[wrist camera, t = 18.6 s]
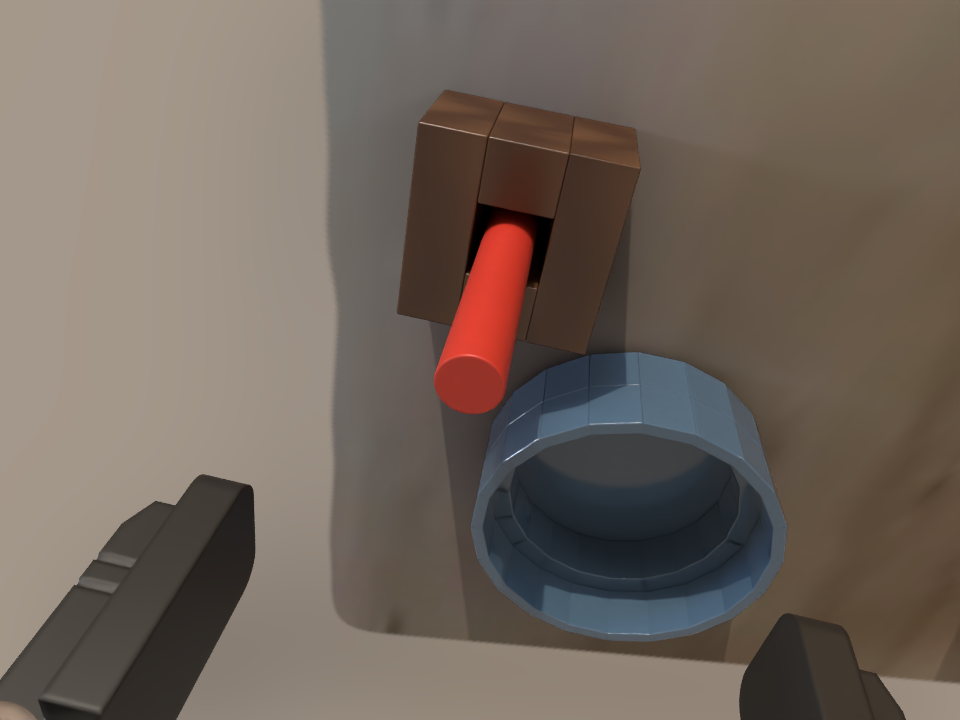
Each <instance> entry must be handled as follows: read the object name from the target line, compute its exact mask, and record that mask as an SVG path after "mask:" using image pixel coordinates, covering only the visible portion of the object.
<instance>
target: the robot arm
mask: <svg viewBox="0 0 960 720" xmlns="http://www.w3.org/2000/svg"><path fill="white" fill-rule="evenodd" d="M254 558H255V522H254V493H253V488H252V487H251V486H250V485H247V484H243V483H238V482H234V481H230V480H226V479H221V478H217V477H213V476H209V475H204V474H203V475H199V476H198V477H197V478H196V479H195V480H194V481H193V482H192V483H191V485H190V486H189V487H188V489H187V490H186V492H185V493H184V494H183V496H182V497H181V499H180V500H179V501H178V503H177V504H176V505H171V504H166V503H162V502H158V501H155V502H153V503H152V504H151V505H149V506H147V507H146V508H144V509H143V510H141V511H140V512H138V513H137V514H136V515H134V516H133V517H131V518H130V519H128V520H127V521H125V522H124V523H123V524H121V526H120V527H119V528H118V529H117V531H116V532H115V533H114V535H113V536H112V537H111V538H110V540H109V541H108V542H107V544H106V545H105V546H104V547H103V549H102V550H101V551H100V552H99V556H98V558H97V560H93V561H92V563H91V564H90V565H89V567H88V568H87V569H86V570H85V572H84V573H83V574H82V576H81V577H80V578H79V583H78V584H77V585H74V586H73V587H72V588H71V590H70V591H69V592H68V594H67V595H66V596H65V597H64V599H63V600H62V601H61V603H60V604H59V605H58V607H57V608H56V609H55V610H54V612H53V613H52V614H51V615H50V617H49V618H48V619H47V621H46V622H45V623H44V624H43V626H42V627H41V628H40V630H39V631H38V632H37V633H36V635H35V636H34V637H33V638H32V640H31V641H30V642H29V644H28V645H27V646H26V647H25V649H24V650H23V651H22V653H21V654H20V655H19V656H18V658H17V659H16V660H15V662H14V663H13V664H12V665H11V667H10V668H9V669H8V671H7V672H6V673H5V674H4V676H3V677H2V678H1V680H0V720H176V719H177V717H178V715H179V713H180V711H181V710H182V708H183V706H184V704H185V702H186V700H187V698H188V696H189V694H190V692H191V691H192V689H193V687H194V685H195V683H196V681H197V679H198V677H199V675H200V673H201V672H202V670H203V668H204V666H205V664H206V662H207V660H208V658H209V657H210V655H211V653H212V651H213V649H214V647H215V645H216V643H217V642H218V640H219V638H220V636H221V634H222V632H223V630H224V628H225V626H226V625H227V623H228V621H229V619H230V617H231V615H232V613H233V611H234V609H235V608H236V606H237V604H238V602H239V600H240V598H241V596H242V594H243V592H244V590H245V588H246V586H247V583H248V581H249V578H250V575H251V572H252V568H253V564H254ZM739 707H740V717H741V720H906V719H905V716H904V713H903V711H902V710H901V709H900V707H899V706H898V704H897V703H896V701H895V700H894V699H893V697H892V696H891V694H890V693H889V691H888V690H887V689H886V687H885V686H884V684H883V683H882V681H881V680H880V678H879V677H878V676H877V674H876V673H872V672H868V671H863V670H859V667H858V663H857V660H856V657H855V654H854V651H853V647H852V644H851V641H850V638H849V636H848V634H847V632H846V631H845V629H844V628H843V627H841V626H840V625H836V624H832V623H828V622H824V621H819V620H815V619H811V618H807V617H802V616H798V615H794V614H789V613H786V614H784V615H782V616H781V617H780V618H779V620H778V621H777V623H776V624H775V626H774V627H773V629H772V630H771V632H770V634H769V635H768V637H767V638H766V640H765V641H764V643H763V644H762V646H761V647H760V649H759V650H758V652H757V654H756V655H755V657H754V658H753V660H752V661H751V663H750V664H749V666H748V668H747V669H746V671H745V673H744V676H743V680H742V684H741V689H740V698H739Z"/></svg>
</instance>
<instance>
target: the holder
mask: <svg viewBox="0 0 960 720" xmlns="http://www.w3.org/2000/svg"><path fill="white" fill-rule="evenodd" d="M640 170H641V167H640V160H639V152H638V145H637V138H636V130H635V129H633V128H629V127H624V126H619V125H614V124H609V123H605V122H600V121H595V120H590V119H585V118H580V117H575V118H574V117H573V116H570V115H565V114H560V113H555V112H550V111H546V110H541V109H536V108H531V107H526V106H522V105H517V104H512V103H507V102H506V103H504V102H503V101H498V100H493V99H488V98H483V97H478V96H474V95H469V94H464V93H459V92H454V91H449V90H444V91H443V93H442V94H441V95H440V96H439V98H438V99H437V100H436V101H435V103H434V104H433V105H432V106H431V108H430V109H429V110H428V111H427V112H426V114H425V115H424V116H423V117H422V119H421V120H420V121H419V123H418V129H417V138H416V147H415V156H414V165H413V174H412V182H411V191H410V200H409V209H408V218H407V227H406V236H405V245H404V254H403V263H402V272H401V280H400V289H399V298H398V307H397V314H400V315H405V316H410V317H414V318H419V319H423V320H428V321H433V322H437V323H442V324H446V325H451V326H452V323H453V321H454V318H455V315H456V312H457V309H458V306H459V303H460V301H461V298H462V295H463V292H464V289H465V286H466V284H467V281H468V278H469V275H470V272H471V269H472V267H473V264H474V261H475V258H476V255H477V252H478V250H479V247H480V244H481V241H482V238H483V235H484V232H485V230H486V227H487V226H486V225H483V220H484V215H485V209H486V205H490V206H494V207H499V208H504V209H508V210H513V211H518V212H523V213H527V214H532V215H537V216H542V217H546V218H551V221H550V225H549V229H548V233H547V238H543V237H538V236H536V239H535V244H534V249H533V255H532V260H531V265H530V270H529V275H528V280H527V285H526V290H525V295H524V300H523V305H522V310H521V315H520V320H519V325H518V331H517V336H516V340H520V341H525V340H526V342H528V343H533V344H537V345H542V346H547V347H551V348H556V349H560V350H565V351H570V352H574V353H579V354H583V355H585V354H586V351H587V348H588V345H589V341H590V338H591V335H592V331H593V328H594V325H595V321H596V318H597V314H598V311H599V308H600V304H601V301H602V298H603V294H604V291H605V288H606V284H607V281H608V278H609V274H610V271H611V267H612V264H613V261H614V257H615V254H616V251H617V247H618V244H619V241H620V237H621V234H622V231H623V227H624V224H625V220H626V217H627V214H628V210H629V207H630V204H631V200H632V197H633V194H634V190H635V187H636V184H637V180H638V177H639V173H640Z"/></svg>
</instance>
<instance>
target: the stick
mask: <svg viewBox="0 0 960 720" xmlns="http://www.w3.org/2000/svg"><path fill="white" fill-rule="evenodd" d="M539 219H540V216H537V215H532V214H527V213H523V212H518V211H513V210H508V209H504V208H499V207H493V210H492V213H491V215H490V218H489V221H488V224H487V227H486V230H485V232H484V235H483V238H482V241H481V244H480V247H479V250H478V252H477V255H476V258H475V261H474V264H473V267H472V269H471V272H470V275H469V278H468V281H467V284H466V286H465V289H464V292H463V295H462V298H461V301H460V303H459V306H458V309H457V312H456V315H455V318H454V321H453V323H452V326H451V329H450V332H449V335H448V338H447V340H446V343H445V346H444V349H443V352H442V355H441V357H440V360H439V363H438V366H437V369H436V372H435V375H434V386H435V389H436V392H437V394H438V396H439V397H440V399H441V400H442V401H443V402H444V403H445V404H446V405H447V406H449V407H450V408H452V409H454V410H456V411H459V412H462V413H466V414H481V413H485V412H488V411H490V410H492V409H493V408H495V407H496V406H497V405H498V404H499V403H500V402H501V401H502V399H503V397H504V395H505V391H506V386H507V381H508V376H509V371H510V366H511V361H512V356H513V351H514V346H515V341H516V336H517V331H518V325H519V320H520V315H521V310H522V305H523V300H524V295H525V290H526V285H527V280H528V275H529V270H530V265H531V260H532V255H533V249H534V244H535V239H536V234H537V229H538V224H539Z"/></svg>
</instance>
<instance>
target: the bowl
mask: <svg viewBox="0 0 960 720" xmlns="http://www.w3.org/2000/svg"><path fill="white" fill-rule="evenodd" d="M471 532H472V536H473V541H474V546H475V550H476V555H477V559H478V561H479V563H480V564H481V566H482V567H483V569H484V570H485V572H486V573H487V575H488V576H489V578H490V579H491V581H492V582H493V583H494V585H495V586H496V588H497V589H498V590H499V591H500V592H501V593H503V594H504V595H505V596H506V597H508V598H509V599H510V600H511V601H513V602H514V603H515V604H516V605H518V606H519V607H520V608H521V609H523V610H524V611H525V612H526V613H528V614H529V615H532V616H534V617H536V618H538V619H540V620H542V621H545V622H547V623H549V624H551V625H553V626H555V627H557V628H560V629H562V630H564V631H568V632H573V633H577V634H581V635H586V636H590V637H594V638H599V639H603V640H608V641H641V642H651V641H659V640H664V639H670V638H676V637H682V636H688V635H693V634H697V633H699V632H702V631H704V630H706V629H709V628H711V627H714V626H716V625H718V624H721V623H723V622H726V621H728V620H730V619H733V618H734V617H736V616H737V615H738V614H740V613H741V612H742V611H743V610H745V609H746V608H747V607H748V606H750V605H751V604H752V603H753V602H755V601H756V600H757V599H758V598H760V597H761V596H762V595H764V593H765V592H766V591H767V589H768V587H769V586H770V584H771V582H772V581H773V579H774V577H775V576H776V574H777V573H778V571H779V569H780V568H781V566H782V564H783V562H784V555H785V546H786V536H787V523H786V519H785V516H784V512H783V509H782V506H781V502H780V499H779V495H778V492H777V488H776V485H775V481H774V478H773V475H772V471H771V468H770V464H769V461H768V457H767V454H766V451H765V447H764V444H763V442H762V439H761V436H760V433H759V431H758V428H757V425H756V423H755V420H754V417H753V415H752V413H751V412H750V411H749V410H748V409H747V408H746V406H745V405H744V404H743V403H742V402H741V401H740V400H739V399H738V398H737V397H736V396H735V395H734V393H733V392H732V391H731V390H730V389H729V388H728V387H727V386H726V385H725V384H724V383H723V382H721V381H719V380H717V379H715V378H714V377H712V376H710V375H708V374H706V373H704V372H702V371H701V370H699V369H697V368H695V367H693V366H691V365H690V364H688V363H686V362H682V361H678V360H673V359H668V358H664V357H659V356H655V355H650V354H645V353H641V352H628V353H608V354H591V355H587V356H584V357H581V358H578V359H575V360H572V361H569V362H566V363H563V364H560V365H557V366H554V367H551V368H548V369H546V370H544V371H543V372H541V373H540V374H538V375H537V376H536V377H534V378H533V379H531V380H530V381H528V382H527V383H526V384H524V385H523V386H521V387H520V388H519V389H517V390H516V391H514V393H513V394H512V395H511V397H510V398H509V399H508V401H507V402H506V404H505V405H504V406H503V408H502V409H501V411H500V412H499V414H498V415H497V416H496V418H495V419H494V421H493V423H492V428H491V432H490V437H489V441H488V446H487V450H486V455H485V460H484V464H483V469H482V474H481V479H480V483H479V488H478V493H477V497H476V502H475V507H474V512H473V516H472V521H471Z"/></svg>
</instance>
